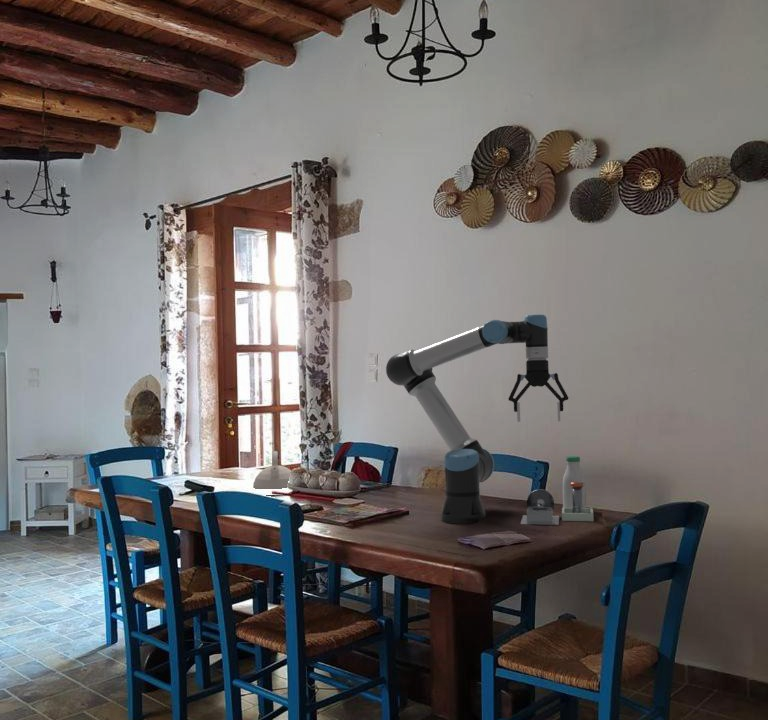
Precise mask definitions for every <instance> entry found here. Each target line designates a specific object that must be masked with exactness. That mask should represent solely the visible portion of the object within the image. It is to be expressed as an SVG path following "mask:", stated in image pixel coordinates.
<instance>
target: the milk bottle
mask: <svg viewBox="0 0 768 720" xmlns="http://www.w3.org/2000/svg"><path fill="white" fill-rule="evenodd" d="M565 459H566V464H567V465H566V469H565V470H564V471H565V472H564V474H563V477H562V508H572V487H571V486H570V482H583V486H584V487H582V508H587V502H586V501H587V499H586V496H587V495H586V494H587V493H586V481H585V476H584V474H583V472H582V469H581V467H580V462H581V458H580V456H576V455H570V456H566V457H565Z"/></svg>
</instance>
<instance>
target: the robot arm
mask: <svg viewBox="0 0 768 720" xmlns="http://www.w3.org/2000/svg"><path fill="white" fill-rule="evenodd" d="M548 337H549V336H548V319H547V316H546V315H545V314H527V315H525V316H524V320H522V321H504V320H499V319H493V320H489V321H487V322H485V324H483V325H481V326H477V327H474V328H472V329H469V330H467V331H464V332H461V333H459V334H456V335H454V336H452V337H449V338H445V339H444V340H443V339H442V341H441V340H440V341H438V342H436V343H434V344H431V345H427V346H426V347H423V348H420V349H418V350H415V349H409V350H407V351H404V352H400V353H396V354H394V355H392V356H391V357H390V358H389V359H388V360H387V363H386V367H385V372H386V373H385V374H386V375H387V376H386V377H387V378H388V379H389V381H390V382H391V383H393V384H394V385H397V386H403V387H404V389H405V391H407V393H408V394H409V396H413V397H415V398H416V399H417V401H418V403H419V404H420V405H421V408H423V410H424V412H425V414H426V415H427V417H428V418H429V419H430V421H431V423H432V424H433V426H434V427H435V428H436V431H437V432H438V433H439V435H440V437H441V438H442V440H443V441H444V443H445V445H446V446H447V448H448V449H449V451H448V452H447V453H445V455H444V462H443V465H444V488H445V498H444V502H443V505H442V508H441V512H440V520H441V521H442V522H444V523H449V524H475V523H476V524H477V523H478V522H479V520H482V519H484V518H485V517H486V511H485V509H484V506H483V503H482V500H481V495H480V494H481V492H480V483H483V482H485V481H487V480H488V479H489V478H490V477H491V476H492V475H493V473H494V469H495V466H496V465H495V459H494V457H493V455H492V454H491V453H490V451H488V450H487V449H485V448H483V447H482V445H481V444H480V442H479V441H478V439H476V438H472V437H470V435H469V433H468V431H467V429H465V427H464V426H463V424H462V423H461V421H460V420H459V417H457V415H456V413H455V412H454V410H453V409H452V407H451V406H450V405H449V403H448V401H447V400H446V398H445V397H444V395H443V393H442V392H441V391H440V389H439V388H438V386H437V385H436V381H437V379H436V378H437V377H436V375H435V373H434V372H433V368H436V367H438V366H442V365H444V364H447V363H448V362H452V361H454V360H457V359H459V358H462V357H465V356H468V355H470V354H473V353H475V352H479V351H481V350H483V349H486V348H490V347H492V346H495V345H498V344H499V345H504V344H505V345H506V344H524V343H525V359H527V360H526V361H525V365H526V368H525V370H526V373H525V374H521V373H518V374H517V378H516V381H515V384H514V385H513V388H512V390H511V392H510V395H509V396H508V402H509V401H510V402H512V403H513V412H515V413H517V414H516V415H517V418H516V420H517V423H520V422H521V403H520V401H519V400H520V399H521V398H522V397H523V395H525V393H526V392H527V390H528V389H529V388H530V387H534V388H536V387H544V386H545V387H546V388H547V389H548V390H549V391H550V393H552V395H554V397H555V398H556V399H558V401H557V402H556V403H557V422H561V412H563V411H564V402H565V401H568V400H569V396H568V393H567V392H566V390H565V388H564V387H563V384H562V383H561V382H560V380H559V379H560V378H559V374H558V373H557V372H555V373H551V374H550V371H549V359H548V358H549V347H548V346H549V345H548V344H549V343H548ZM547 359H548V360H547ZM550 378H551V379H552V380H553V381H555V383H556V386H557V387H558V389H559V390H560V392H561V394H562V396H561V395H560V394H559V393H558V392H557V390H555V388H553V386H552V385H551V384H550V383H549V382H548V381H549V380H550ZM524 379H525V380H526V381H527V383H526V384H525V385H524V387H522V389H521V390H520V391H519V393H518V394H517V395H516V392H517V390H518V388H519V386H520V383H521V382H522V381H524ZM515 395H516V396H515ZM514 396H515V397H514ZM518 401H519V402H518Z"/></svg>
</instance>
